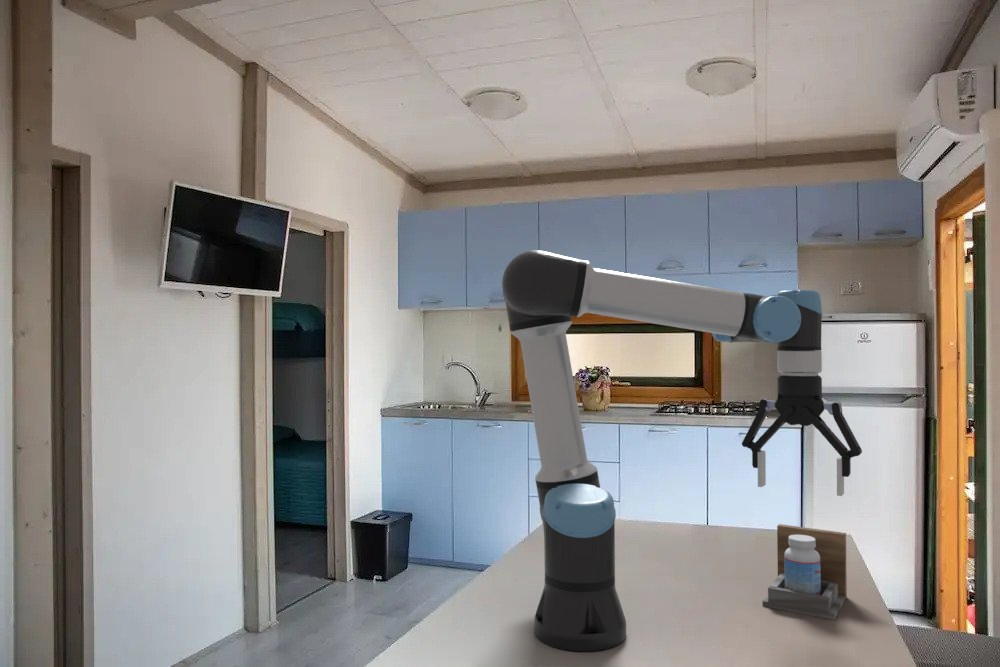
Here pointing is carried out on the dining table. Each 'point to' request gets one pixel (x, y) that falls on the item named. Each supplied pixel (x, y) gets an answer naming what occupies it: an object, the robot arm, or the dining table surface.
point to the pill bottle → (802, 565)
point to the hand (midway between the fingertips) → (799, 490)
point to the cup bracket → (832, 575)
